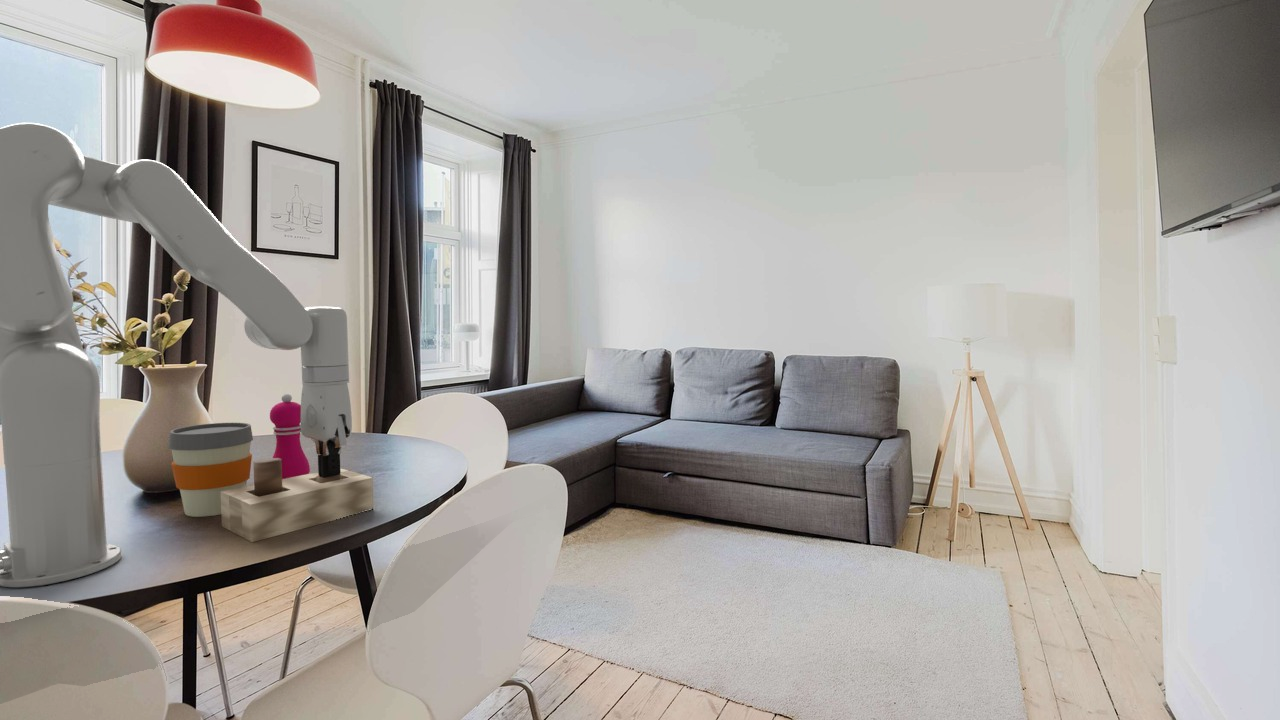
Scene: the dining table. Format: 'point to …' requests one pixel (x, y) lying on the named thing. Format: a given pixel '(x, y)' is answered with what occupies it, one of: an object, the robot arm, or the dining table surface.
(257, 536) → the oak socket block
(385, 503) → the dining table surface
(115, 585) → the dining table surface
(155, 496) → the dining table surface
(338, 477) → the far walnut peg
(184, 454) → the reusable coffee cup
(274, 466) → the near walnut peg
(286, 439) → the pepper mill
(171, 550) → the dining table surface
